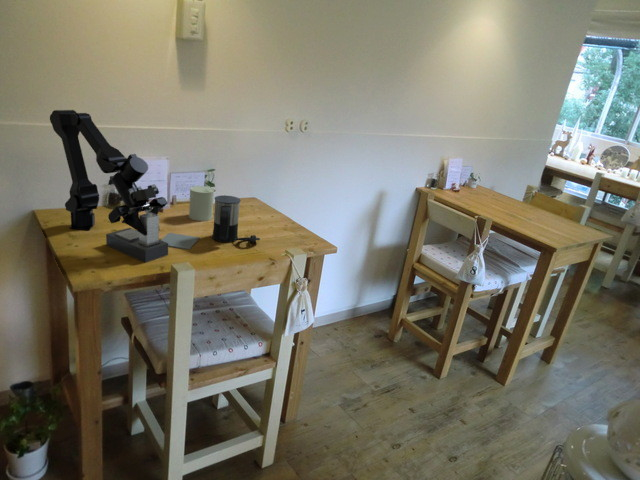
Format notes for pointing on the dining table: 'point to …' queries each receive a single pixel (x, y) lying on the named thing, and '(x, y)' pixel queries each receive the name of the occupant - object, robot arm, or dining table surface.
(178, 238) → the mat
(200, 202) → the can
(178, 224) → the dining table surface
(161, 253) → the dark grey socket base
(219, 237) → the milk frother
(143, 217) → the grey rectangular block
